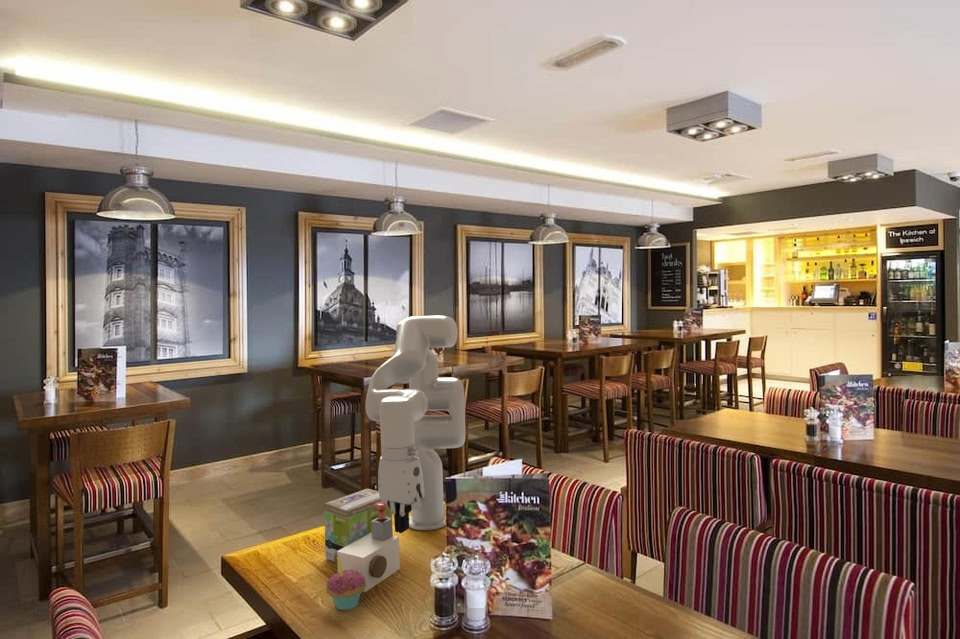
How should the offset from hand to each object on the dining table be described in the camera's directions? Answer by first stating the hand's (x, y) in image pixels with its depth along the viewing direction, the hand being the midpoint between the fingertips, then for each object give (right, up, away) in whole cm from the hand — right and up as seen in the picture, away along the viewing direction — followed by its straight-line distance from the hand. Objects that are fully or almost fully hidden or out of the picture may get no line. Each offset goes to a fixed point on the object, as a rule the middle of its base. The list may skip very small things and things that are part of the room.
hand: (402, 530), depth 140 cm
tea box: (-14, -14, +21) cm, 29 cm away
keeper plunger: (-6, -3, +11) cm, 13 cm away
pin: (-11, -12, +6) cm, 17 cm away
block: (-9, -14, +8) cm, 18 cm away
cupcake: (-11, -15, -5) cm, 19 cm away
